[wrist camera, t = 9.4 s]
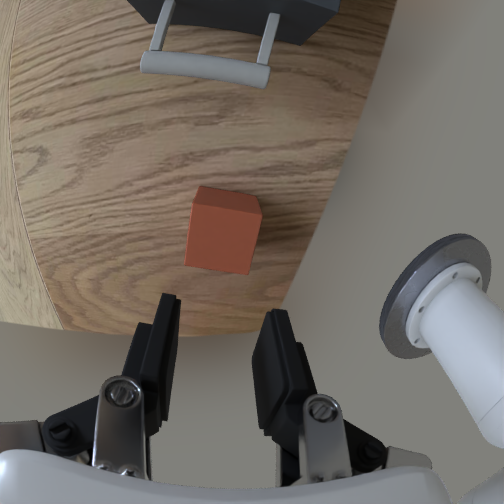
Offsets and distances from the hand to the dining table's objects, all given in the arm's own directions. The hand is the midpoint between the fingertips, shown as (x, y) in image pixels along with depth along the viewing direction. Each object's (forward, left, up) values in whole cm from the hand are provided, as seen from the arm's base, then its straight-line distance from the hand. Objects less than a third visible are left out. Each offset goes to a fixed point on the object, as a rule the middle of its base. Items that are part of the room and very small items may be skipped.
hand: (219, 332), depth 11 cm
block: (0, 0, -13) cm, 13 cm away
